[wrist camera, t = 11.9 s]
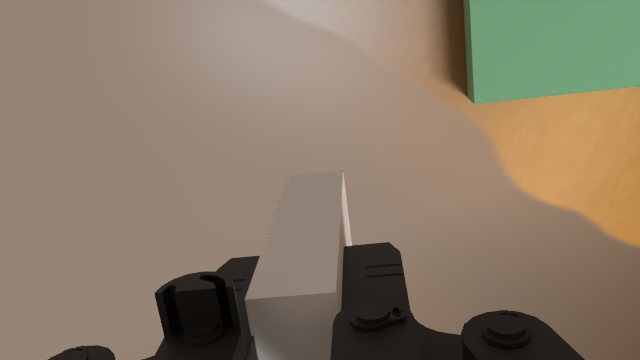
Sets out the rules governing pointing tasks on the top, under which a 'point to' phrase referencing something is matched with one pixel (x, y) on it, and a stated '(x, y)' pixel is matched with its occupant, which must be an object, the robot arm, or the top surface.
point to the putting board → (550, 47)
